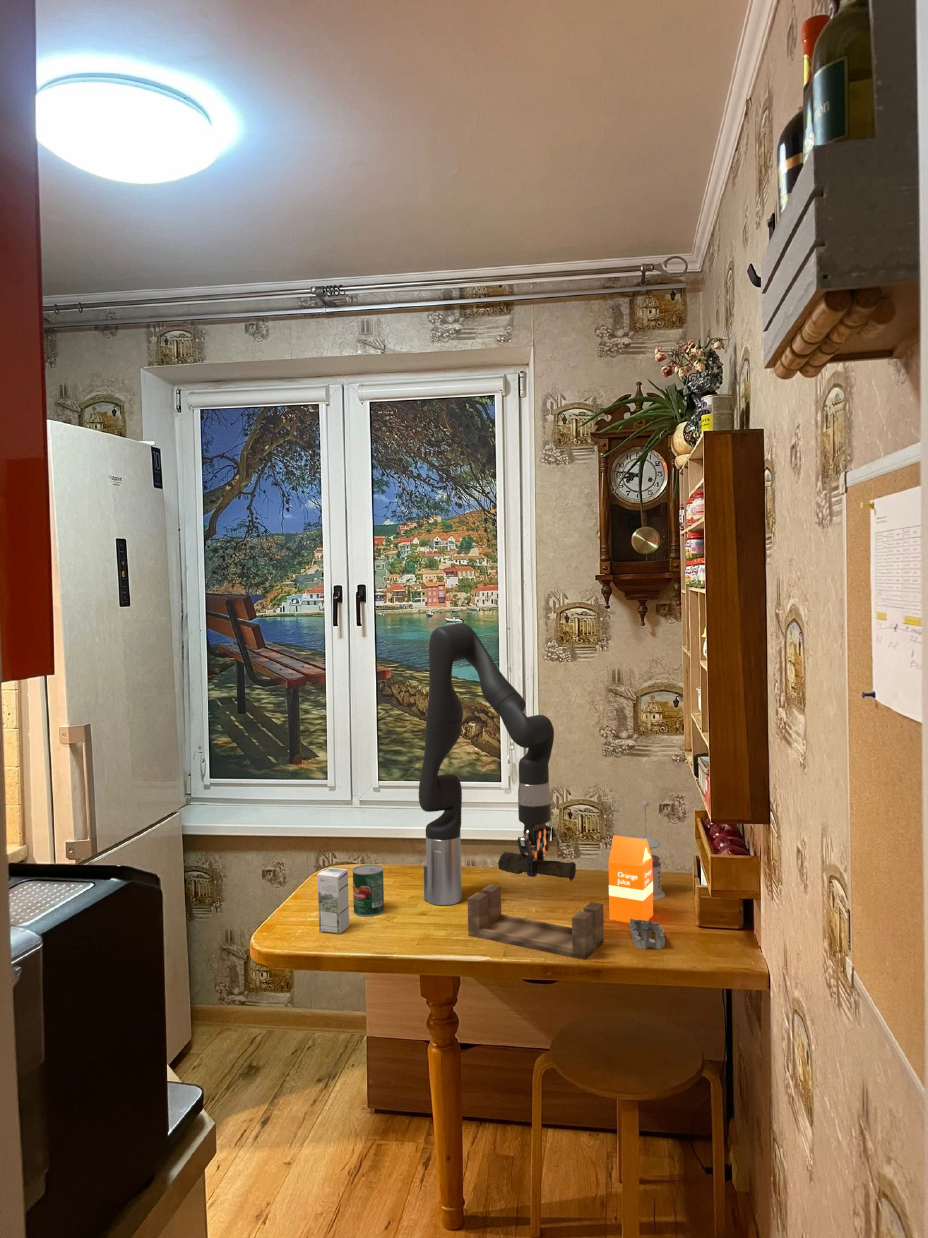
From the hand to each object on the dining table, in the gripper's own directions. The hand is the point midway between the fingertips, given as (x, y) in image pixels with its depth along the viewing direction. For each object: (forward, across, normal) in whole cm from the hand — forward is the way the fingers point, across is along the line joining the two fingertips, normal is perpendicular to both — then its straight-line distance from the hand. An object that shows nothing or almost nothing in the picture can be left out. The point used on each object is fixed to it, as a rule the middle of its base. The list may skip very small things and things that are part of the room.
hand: (535, 873), depth 211 cm
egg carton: (+16, +10, -23) cm, 30 cm away
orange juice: (+16, +23, -15) cm, 31 cm away
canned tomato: (+15, -4, +46) cm, 49 cm away
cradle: (+15, -1, 0) cm, 15 cm away
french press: (+15, +40, -13) cm, 45 cm away
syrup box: (+15, -18, +46) cm, 52 cm away
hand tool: (+1, -1, 0) cm, 1 cm away
